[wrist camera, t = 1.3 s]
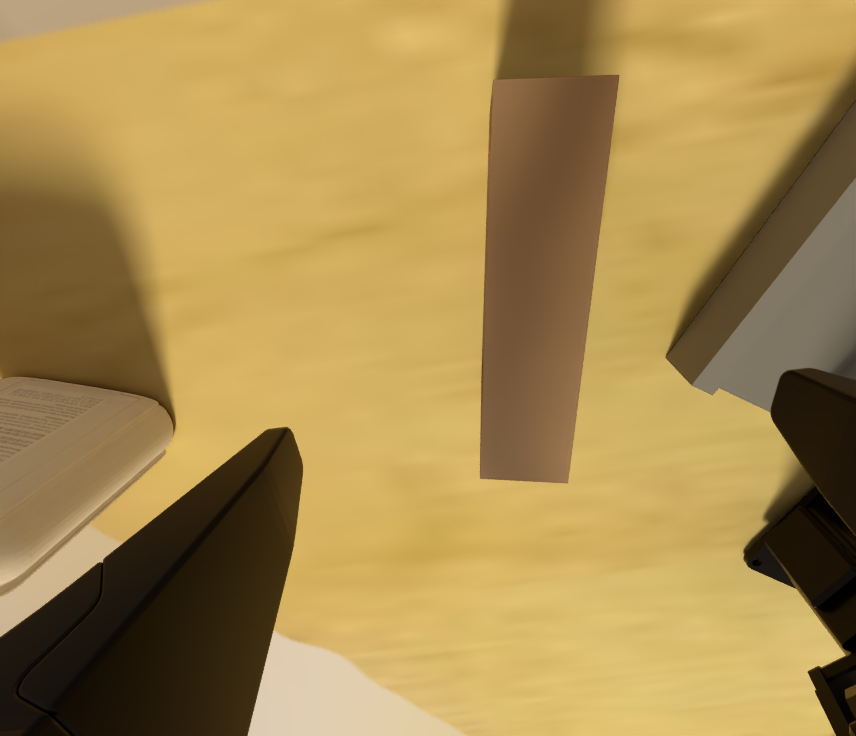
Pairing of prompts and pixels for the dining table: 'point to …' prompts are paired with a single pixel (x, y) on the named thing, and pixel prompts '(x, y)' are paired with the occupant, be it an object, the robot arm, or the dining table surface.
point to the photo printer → (66, 463)
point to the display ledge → (786, 288)
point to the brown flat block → (540, 267)
